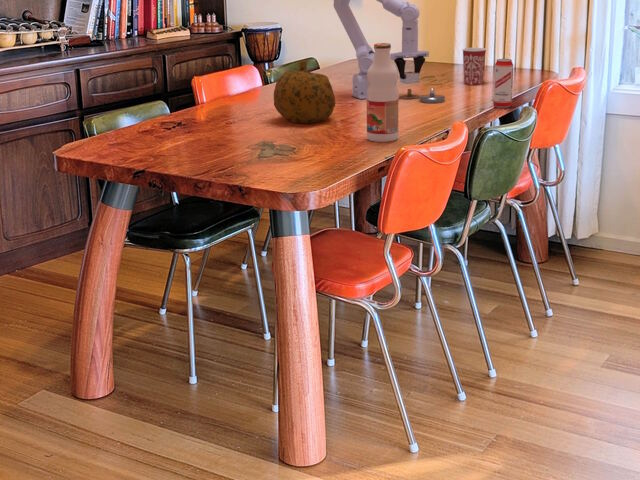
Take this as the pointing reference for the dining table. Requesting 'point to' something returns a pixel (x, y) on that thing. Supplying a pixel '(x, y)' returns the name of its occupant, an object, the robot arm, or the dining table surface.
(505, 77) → the beer can
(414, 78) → the square tube sleeve
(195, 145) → the dining table surface
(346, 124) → the dining table surface
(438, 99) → the hub
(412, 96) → the stand
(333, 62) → the dining table surface
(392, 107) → the fruit juice
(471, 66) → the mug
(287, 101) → the decorative pumpkin
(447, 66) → the dining table surface
